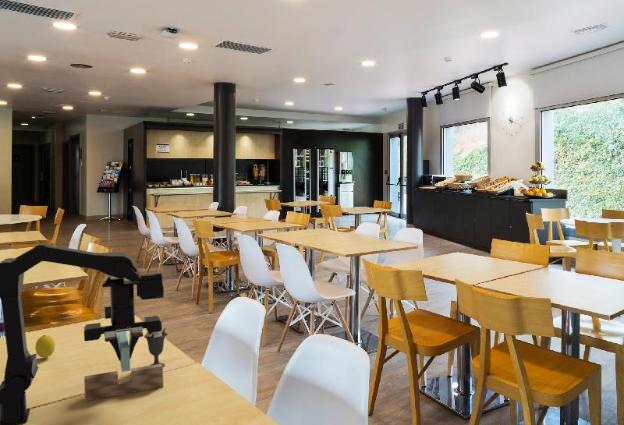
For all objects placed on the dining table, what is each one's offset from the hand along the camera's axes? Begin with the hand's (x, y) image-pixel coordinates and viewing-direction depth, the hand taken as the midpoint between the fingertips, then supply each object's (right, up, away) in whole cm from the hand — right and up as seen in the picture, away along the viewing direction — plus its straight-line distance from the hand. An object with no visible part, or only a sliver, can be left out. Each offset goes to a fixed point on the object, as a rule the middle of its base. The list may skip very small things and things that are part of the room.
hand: (124, 359), depth 127 cm
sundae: (+1, -9, +23) cm, 25 cm away
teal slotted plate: (-2, -1, +5) cm, 6 cm away
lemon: (-37, -9, +30) cm, 48 cm away
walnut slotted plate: (-2, -11, +6) cm, 13 cm away
